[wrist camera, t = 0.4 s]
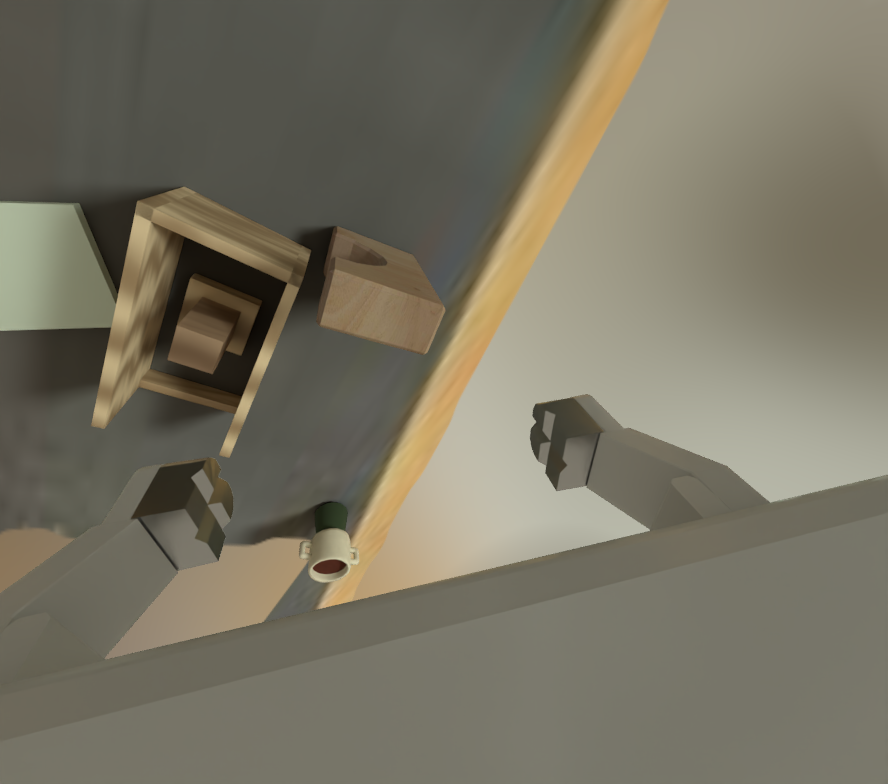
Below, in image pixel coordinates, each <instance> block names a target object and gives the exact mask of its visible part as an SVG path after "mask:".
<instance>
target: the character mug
mask: <svg viewBox="0 0 888 784" xmlns="http://www.w3.org/2000/svg"><path fill="white" fill-rule="evenodd" d="M347 514H348V512H347V509H346V507H345V506H343V505H342V504H340V503H335V502H333V503H327V504H325V505H323V506H321V507H319V508H318V509H317V510H316V512H315V527H316V535H315V536H314V537H313V539H312V540H311V542H308V541H303V542H301V543H300V550H299V557H300V558H301V559H307V560H309V567H308V573H309V576H310V577H311V578H312V579H313V580H315V581H318V582H333V581H336V580H339V579H341V578H343V577H345V576H346V575H347V574H348V573H349V571H350V567H351V565H357V564H358V563H359V551H358V549H357V548H352V547H350V539H349V536H348V534H347V533H346V532H345V528H346V522H347ZM305 547H308V548H310V553H305ZM350 553H353V554H354V559H351V555H350Z"/></svg>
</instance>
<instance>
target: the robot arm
mask: <svg viewBox="0 0 888 784" xmlns="http://www.w3.org/2000/svg"><path fill="white" fill-rule="evenodd" d="M533 417H534V419H535V420H536V423H535V424H534V426H533V427H532V428H531V434H530V440H531V446H532V450H533V452H534V455H535V457H536V458H537V460H538V461H539V462H541V463H543V464H544V465H546V474H547V476H548V478H549V479H550V481H551V483H552V484H553V486H554V488H555V489H556V491H560V490H566V489H571V488H577V487H583V486H587V488H589V489H590V490H591V491H593V492H594V493H596V494H597V495H599V496H600V497H602V498H604V499H605V500H606V501H608V502H610V503H611V504H612V505H614V506H615V507H617V508H618V509H620V510H622V511H623V512H625V513H626V514H627V515H629V516H630V517H632V518H634V519H635V520H637V521H638V522H640V523H641V524H643V525H644V526H646V527H647V528H649V529H650V531H648V532H644V533H640V534H635V535H631V536H627V537H623V538H619V539H614V540H610V541H606V542H602V543H597V544H593V545H589V546H585V547H580V548H576V549H572V550H567V551H563V552H559V553H555V554H551V555H546V556H542V557H538V558H534V559H530V560H526V561H521V562H517V563H513V564H509V565H504V566H500V567H496V568H492V569H488V570H483V571H479V572H475V573H471V574H467V575H463V576H458V577H454V578H450V579H445V580H441V581H437V582H433V583H428V584H424V585H420V586H415V587H411V588H407V589H403V590H398V591H395V592H390V593H386V594H381V595H377V596H373V597H369V598H365V599H360V600H356V601H352V602H347V603H343V604H339V605H335V606H330V607H326V608H322V609H318V610H314V611H309V612H305V613H301V614H297V615H292V616H288V617H284V618H280V619H275V620H271V621H267V622H263V623H259V624H254V625H250V626H246V627H242V628H237V629H233V630H229V631H225V632H220V633H216V634H212V635H208V636H203V637H200V638H195V639H191V640H187V641H182V642H178V643H174V644H170V645H166V646H161V647H157V648H153V649H149V650H144V651H140V652H136V653H131V654H127V655H123V656H119V657H115V658H110V659H104V658H105V657H106V656H107V654H108V653H109V652H110V651H111V650H112V649H113V648H114V646H115V645H116V644H117V643H118V642H119V641H120V639H121V638H122V637H123V636H124V635H125V633H126V632H127V631H128V630H129V629H130V628H131V627H132V626H133V624H134V623H135V622H136V621H137V620H138V619H139V617H140V616H141V615H142V614H143V613H144V612H145V610H146V609H147V608H148V607H149V606H150V605H151V603H152V602H153V601H154V600H155V599H156V598H157V597H158V595H159V594H160V593H161V592H162V591H163V589H164V588H165V587H166V586H167V585H168V584H169V583H170V581H171V580H172V579H173V578H174V577H175V576H176V574H177V573H178V572H177V571H179V570H183V569H187V568H192V567H196V566H200V565H204V564H208V563H213V562H217V561H219V557H220V554H221V551H222V547H223V544H224V541H225V538H226V535H225V533H224V532H223V530H222V528H223V527H224V526H225V525H226V524H227V523H228V522H229V521H230V520H231V517H232V514H233V509H234V498H233V494H232V490H231V487H230V485H229V483H228V482H227V481H225V480H223V479H221V478H219V474H220V471H221V468H220V466H219V464H218V462H217V461H216V459H214V458H211V457H209V458H202V459H195V460H188V461H181V462H174V463H167V464H164V465H156V466H149V467H143V468H140V469H139V470H137V471H135V473H134V474H133V476H132V477H131V479H130V480H129V482H128V483H127V485H126V487H125V488H124V490H123V491H122V493H121V494H120V496H119V497H118V499H117V501H116V502H115V504H114V505H113V507H112V508H111V510H110V512H109V513H108V515H107V516H106V518H105V519H104V521H103V522H102V524H101V525H99V526H94V527H92V528H90V529H89V530H87V531H86V532H85V533H83V534H82V535H80V536H79V537H78V538H76V539H75V540H73V541H72V542H71V543H70V544H68V545H67V546H65V547H64V548H62V549H61V550H60V551H58V552H57V553H55V554H54V555H53V556H51V557H50V558H49V559H47V560H46V561H44V562H43V563H42V564H40V565H39V566H37V567H36V568H35V569H33V570H32V571H30V572H29V573H28V574H26V575H25V576H24V577H22V578H21V579H19V580H18V581H17V582H15V583H14V584H13V585H11V586H10V587H8V588H7V589H5V590H4V591H3V592H1V593H0V784H888V475H885V476H881V477H877V478H872V479H868V480H864V481H860V482H855V483H852V484H847V485H843V486H839V487H835V488H830V489H826V490H822V491H818V492H814V493H810V494H805V495H801V496H797V497H792V498H788V499H784V500H780V501H776V502H772V503H770V502H769V501H768V500H766V499H765V498H764V497H763V496H761V494H759V493H758V492H757V491H756V490H754V489H753V488H752V487H751V486H750V485H749V484H747V483H746V482H745V481H744V480H743V479H741V478H740V477H739V476H738V475H737V474H736V473H734V472H733V471H732V470H731V469H730V468H728V467H727V466H725V465H723V464H720V463H718V462H715V461H713V460H710V459H707V458H705V457H702V456H700V455H697V454H694V453H692V452H690V451H687V450H685V449H682V448H679V447H677V446H674V445H672V444H669V443H667V442H664V441H662V440H659V439H656V438H654V437H651V436H649V435H646V434H644V433H641V432H638V431H636V430H633V429H631V428H626V429H624V428H623V427H622V426H621V425H620V424H619V423H618V422H617V421H616V420H615V419H614V418H613V417H612V416H611V415H610V414H609V413H608V412H607V411H606V410H605V409H604V408H603V407H602V406H601V405H600V404H599V403H598V402H597V401H596V400H595V399H594V398H593V397H592V396H590V395H588V394H585V395H580V396H575V397H570V398H567V399H561V400H555V401H549V402H543V403H537V404H535V406H534V409H533Z"/></svg>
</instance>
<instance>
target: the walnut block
mask: <svg viewBox="0 0 888 784" xmlns="http://www.w3.org/2000/svg"><path fill="white" fill-rule="evenodd" d="M240 314H241V312H240V311H238V310H235V309H233V308H230V307H228V306H225V305H222V304H220V303H217V302H215V301H212V300H210V299H207V298H205V297H202V298H201V299H200V300H199V301H198V303H197V304H196V305H195V306H194V307H193V308H192V309H191V310H190V312H189V313H188V314H187V315H186V316H185V317H184V318H183V319H182V321H181V322H180V323H179V324H178V325H177V327H176V331H175V335H174V338H173V342H172V345H171V349H170V352H169V356H168V359H167V360H169V361H173V362H176V363H179V364H182V365H185V366H188V367H191V368H195V369H198V370H201V371H204V372H207V373H210V374H213V372H214V370H215V369H216V367H217V365H218V363H219V361H220V360H221V358H222V356H223V354H224V352H225V351H226V349H227V347H228V345H229V343H230V342H231V339H232V337H233V334H234V331H235V328H236V325H237V322H238V320H239V317H240Z"/></svg>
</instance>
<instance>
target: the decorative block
mask: <svg viewBox="0 0 888 784" xmlns="http://www.w3.org/2000/svg"><path fill="white" fill-rule="evenodd" d="M323 274H324V275H325V277H326V279H325V283H324V287H323V291H322V295H321V298H320V302H319V307H318V314H317V320H316V322H317V323H318V325H319V326H320V327H324V328H327V329H331V330H334V331H338V332H342V333H345V334H349V335H352V336H356V337H360V338H363V339H367V340H370V341H374V342H378V343H381V344H385V345H389V346H392V347H396V348H400V349H403V350H407V351H411V352H414V353H418V354H422V355H423V354H426V353H427V352H428V350H429V347H430V345H431V343H432V340H433V338H434V336H435V333H436V331H437V329H438V326H439V324H440V322H441V319H442V317H443V315H444V312H445V308H444V306H443V304H442V302H441V301H440V299H439V297H438V296H437V294H436V292H435V291H434V289H433V287H432V286H431V284H430V282H429V281H428V279H427V277H426V276H425V274H424V272H423V271H422V269H421V267H420V266H419V264H418V262H417V261H416V259H415V258H414V256H413V255H412V254H409V253H406V252H404V251H401V250H399V249H396V248H393V247H391V246H388V245H386V244H383V243H380V242H378V241H375V240H373V239H370V238H367V237H365V236H362V235H359V234H357V233H354V232H352V231H349V230H346V229H344V228H341V227H338V226H337V227H335V228H334V229H333V233H332V237H331V241H330V245H329V249H328V253H327V257H326V261H325V265H324V272H323Z"/></svg>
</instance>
